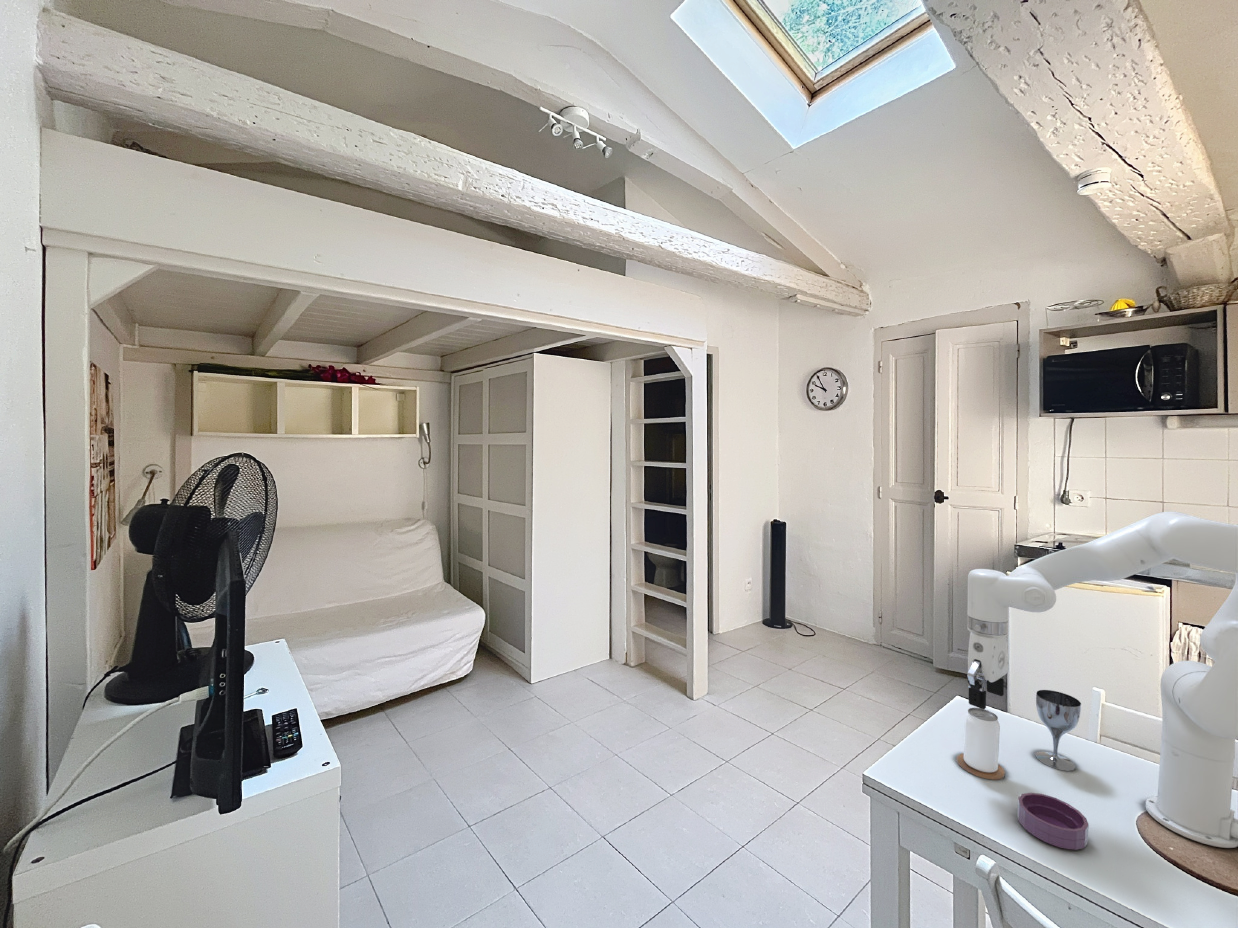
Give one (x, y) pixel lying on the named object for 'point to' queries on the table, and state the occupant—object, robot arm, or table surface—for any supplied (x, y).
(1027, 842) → the table surface
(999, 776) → the coaster
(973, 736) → the can
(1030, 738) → the table surface
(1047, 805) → the dish
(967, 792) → the table surface
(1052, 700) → the wine glass
